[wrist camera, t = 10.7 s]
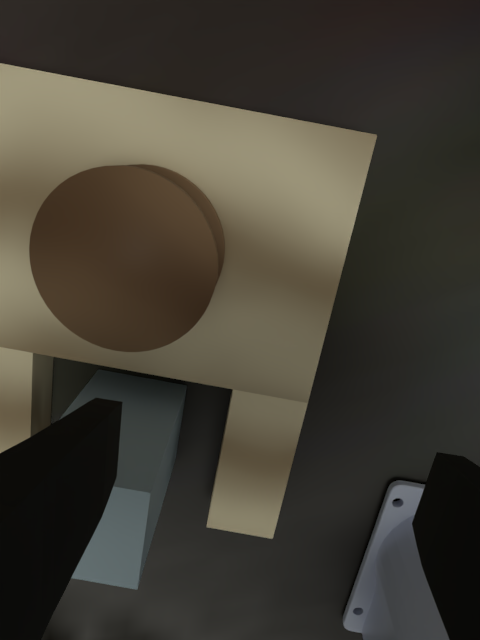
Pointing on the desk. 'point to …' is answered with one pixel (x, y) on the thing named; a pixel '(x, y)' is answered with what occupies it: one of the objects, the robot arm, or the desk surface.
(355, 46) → the desk surface
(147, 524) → the tab peg
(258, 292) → the notched board
